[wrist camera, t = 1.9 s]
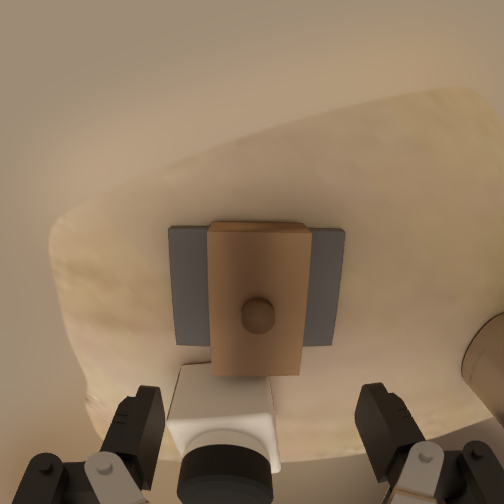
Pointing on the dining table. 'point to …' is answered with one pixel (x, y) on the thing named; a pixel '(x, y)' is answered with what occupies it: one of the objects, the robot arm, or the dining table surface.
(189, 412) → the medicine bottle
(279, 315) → the lid
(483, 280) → the dining table surface
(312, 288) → the mat
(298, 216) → the dining table surface
